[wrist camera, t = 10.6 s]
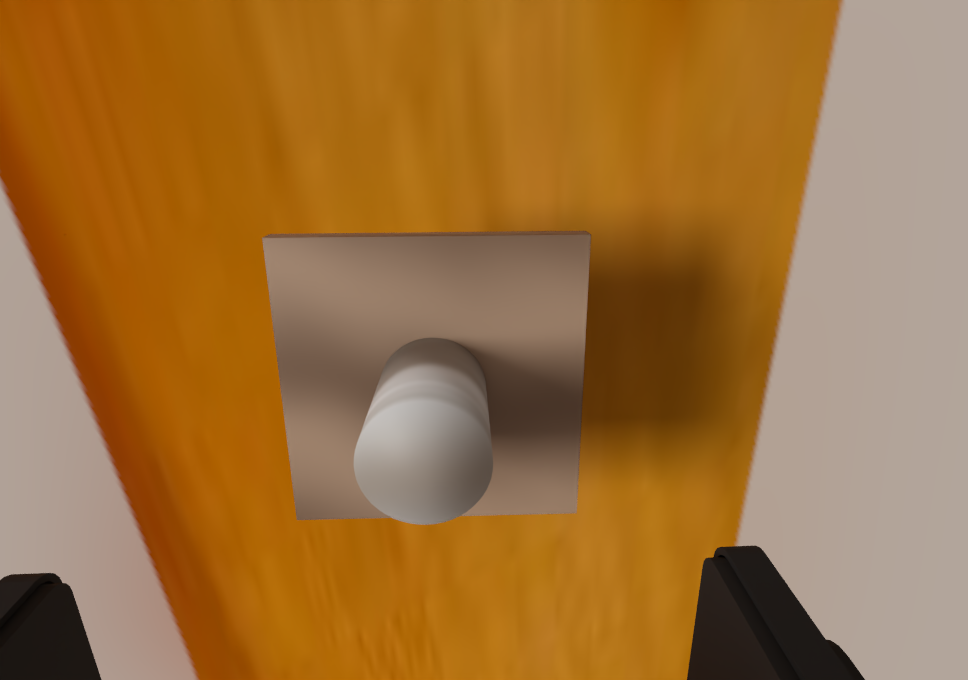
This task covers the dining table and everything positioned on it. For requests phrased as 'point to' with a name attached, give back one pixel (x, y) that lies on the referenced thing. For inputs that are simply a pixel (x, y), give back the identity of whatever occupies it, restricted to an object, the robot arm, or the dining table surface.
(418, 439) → the lid
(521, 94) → the dining table surface
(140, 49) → the dining table surface
